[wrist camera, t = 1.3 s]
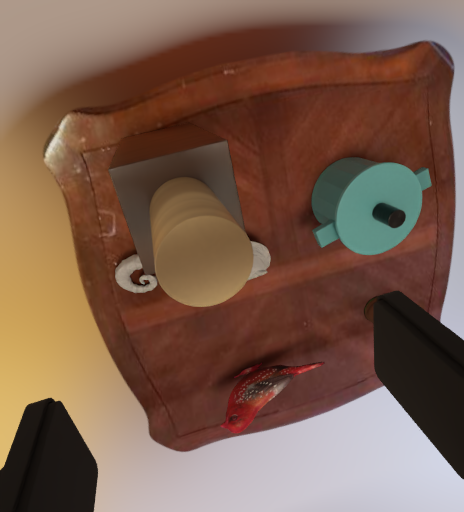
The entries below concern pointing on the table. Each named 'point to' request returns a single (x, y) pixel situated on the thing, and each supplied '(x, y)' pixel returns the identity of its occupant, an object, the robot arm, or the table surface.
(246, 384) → the decorative bird figurine
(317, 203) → the pot
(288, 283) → the table surface
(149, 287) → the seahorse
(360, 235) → the pot lid
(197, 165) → the pedestal
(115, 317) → the table surface
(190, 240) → the cylinder
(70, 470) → the robot arm
